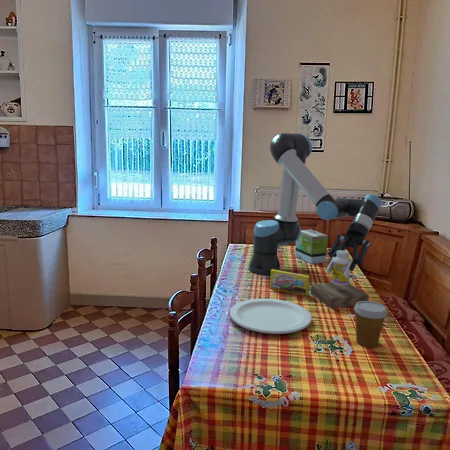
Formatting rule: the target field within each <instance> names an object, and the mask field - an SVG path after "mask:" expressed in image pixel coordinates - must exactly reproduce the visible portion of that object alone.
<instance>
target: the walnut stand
mask: <svg viewBox="0 0 450 450" xmlns="http://www.w3.org/2000/svg"><path fill="white" fill-rule="evenodd" d="M310 295H312V296H313V297H314V298H316V299H317V300H319V301H320V302H321V303H322V304H324V305H326V306H327V307H328V308H330V309H340V308H349V307H355V306H356V303H357V302H360V301H370V300H369V299H370V298H369V297H370V295H369V294H367V292H364V291H363V290H361V289H359V288H357V287H355V286H354V285H352V284H351V283H349V284H348V285H344V286H340V285H336V284H334V283H332V282H323V283H322V282H320V283H312V284H311V285H310Z"/></svg>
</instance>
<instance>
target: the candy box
mask: <svg viewBox="0 0 450 450" xmlns="http://www.w3.org/2000/svg"><path fill="white" fill-rule="evenodd" d="M269 279H270V282H269V289H271V290H272V289H273V290H276V291H280V292H281V291H282V292H286V293H290V294H295V295H301V296H305V297H307V296H309V286H310V275H306V274H301V273H295V272H290V271H285V270H281V269H280V270H274V269H272V270H271V274H270V277H269Z"/></svg>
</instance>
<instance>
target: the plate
mask: <svg viewBox="0 0 450 450" xmlns="http://www.w3.org/2000/svg"><path fill="white" fill-rule="evenodd" d="M229 316H230V319H231V320H232V321H233V322H234V324H236V325H238V326H240V327H242V328H245V329H246V330H250V331H254V332H258V333H261V334H262V333H263V334H279V335H280V334H281V335H282V334H283V335H284V334H290V333H296V332H300V331H302V330H304V329H306V328H307V327H309V326H310V324H311V323H312V315H311V313H310V312H309V310H308V309H306V308H305V307H303V306H301V305H299V304H297V303H294V302H290V301H287V300H282V299H278V298H277V299H276V298H252V299H245V300H242V301H239V302H237V303H235V304H234V305H233V306H232V307H231V308H230V310H229Z"/></svg>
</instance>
